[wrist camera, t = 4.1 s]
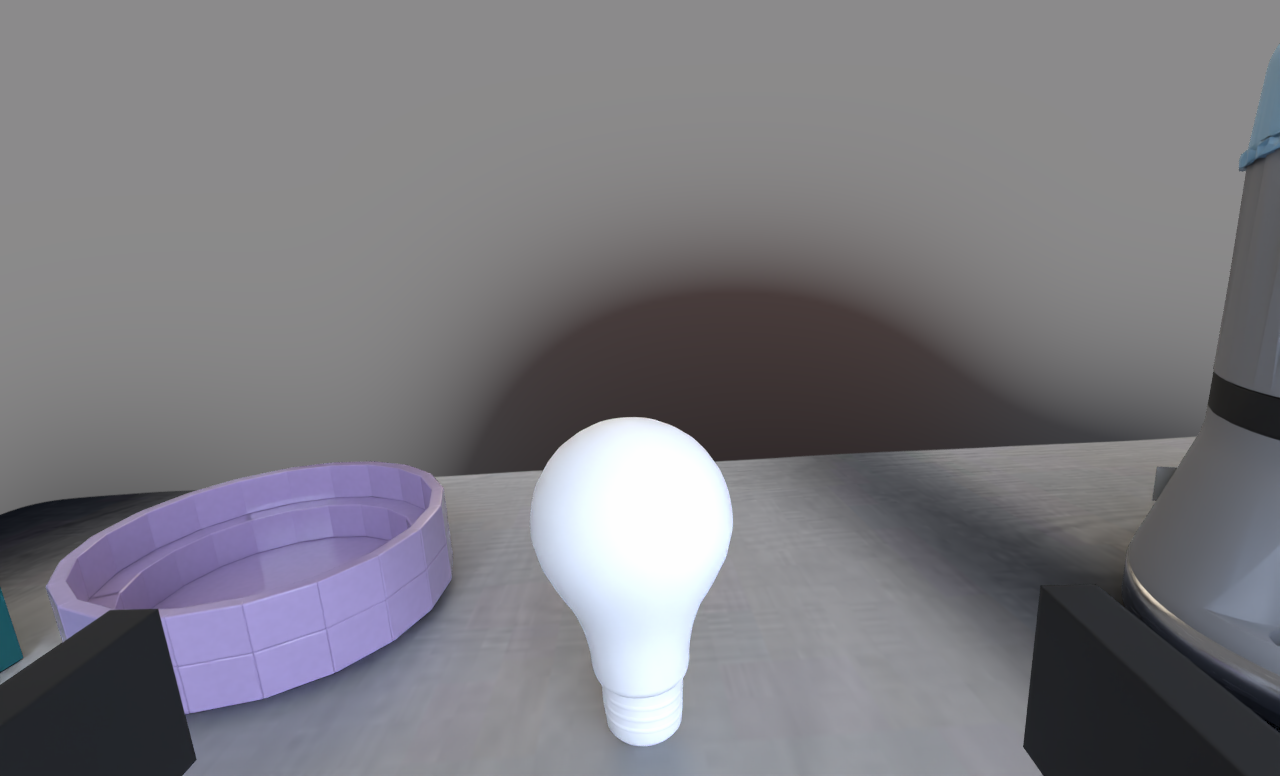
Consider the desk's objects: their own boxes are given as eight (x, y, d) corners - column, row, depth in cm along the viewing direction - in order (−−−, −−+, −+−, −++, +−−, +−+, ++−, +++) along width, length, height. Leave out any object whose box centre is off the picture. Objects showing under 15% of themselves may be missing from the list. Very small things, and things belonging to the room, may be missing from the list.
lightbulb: (683, 852, 17) (664, 471, 15) (514, 766, 20) (474, 439, 18) (765, 708, 22) (762, 404, 20) (619, 656, 26) (600, 388, 23)
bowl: (513, 553, 34) (504, 474, 33) (254, 776, 21) (224, 655, 20) (306, 520, 40) (292, 452, 39) (-5, 677, 26) (-38, 579, 25)
